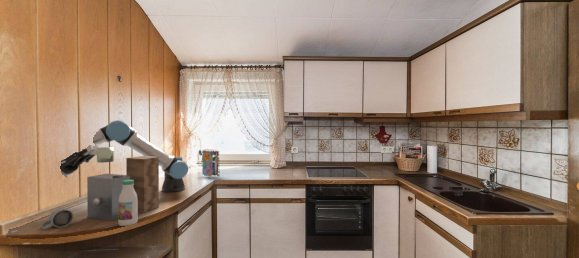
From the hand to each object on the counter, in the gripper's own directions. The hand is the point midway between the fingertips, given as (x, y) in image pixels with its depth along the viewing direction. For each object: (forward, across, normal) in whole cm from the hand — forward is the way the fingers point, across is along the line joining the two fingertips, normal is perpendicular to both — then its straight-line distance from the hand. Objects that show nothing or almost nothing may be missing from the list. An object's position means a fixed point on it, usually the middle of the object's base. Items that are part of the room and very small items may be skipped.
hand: (95, 146), depth 141 cm
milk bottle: (+7, +5, -44) cm, 44 cm away
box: (-22, -105, -27) cm, 111 cm away
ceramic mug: (-17, +18, -30) cm, 39 cm away
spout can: (-2, 0, -7) cm, 7 cm away
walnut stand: (-4, -15, -37) cm, 41 cm away
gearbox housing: (-9, 0, -34) cm, 36 cm away
